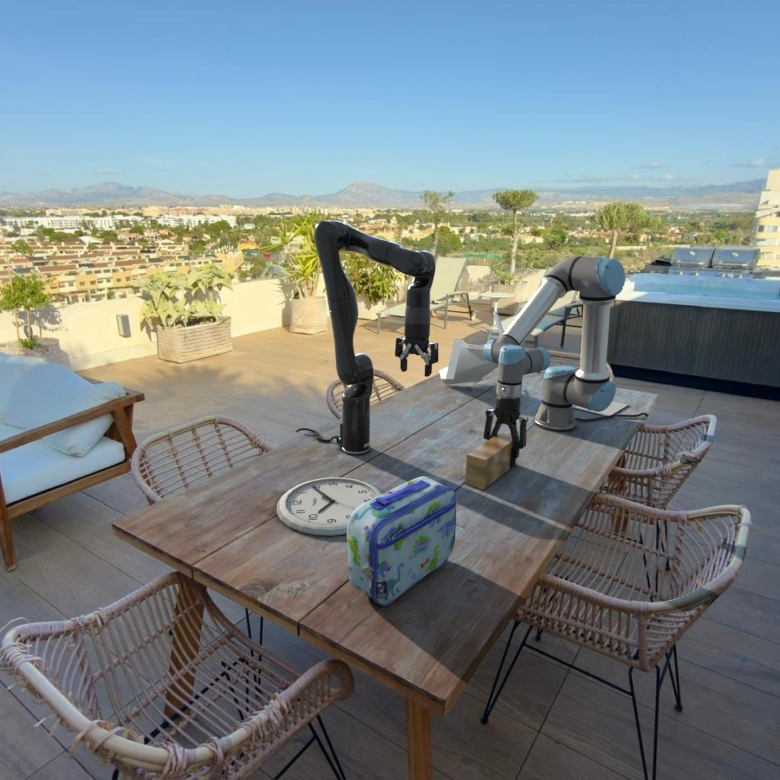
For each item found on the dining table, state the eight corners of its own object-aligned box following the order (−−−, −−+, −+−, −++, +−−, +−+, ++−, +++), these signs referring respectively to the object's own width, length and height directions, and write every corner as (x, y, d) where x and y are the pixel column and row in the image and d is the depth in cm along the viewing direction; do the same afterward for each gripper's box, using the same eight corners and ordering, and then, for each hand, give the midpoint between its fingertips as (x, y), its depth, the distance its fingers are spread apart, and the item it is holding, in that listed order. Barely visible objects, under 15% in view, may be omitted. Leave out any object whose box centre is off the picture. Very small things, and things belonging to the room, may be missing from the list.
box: (498, 458, 173) (500, 432, 171) (515, 464, 170) (518, 436, 167) (464, 483, 156) (466, 454, 153) (483, 490, 153) (486, 460, 150)
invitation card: (608, 416, 214) (573, 407, 224) (608, 416, 214) (573, 408, 224) (628, 404, 229) (594, 396, 238) (628, 405, 229) (594, 397, 238)
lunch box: (376, 619, 101) (377, 524, 95) (340, 592, 109) (339, 502, 102) (459, 562, 119) (465, 479, 113) (424, 542, 126) (427, 463, 120)
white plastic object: (461, 429, 252) (437, 405, 227) (444, 352, 274) (420, 323, 250) (535, 404, 240) (518, 377, 215) (510, 326, 262) (492, 293, 237)
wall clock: (392, 527, 129) (268, 531, 127) (391, 533, 130) (269, 537, 127) (383, 473, 158) (282, 475, 155) (383, 478, 158) (282, 480, 156)
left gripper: (390, 319, 155) (389, 372, 160) (430, 325, 147) (428, 380, 152) (405, 316, 161) (403, 367, 166) (444, 322, 153) (442, 375, 158)
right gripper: (475, 392, 165) (470, 459, 172) (533, 405, 154) (526, 476, 161) (485, 387, 170) (481, 452, 177) (542, 398, 160) (535, 467, 166)
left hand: (415, 373), depth 159 cm, fingers open, 8 cm apart
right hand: (502, 463), depth 169 cm, fingers closed on box, 6 cm apart
